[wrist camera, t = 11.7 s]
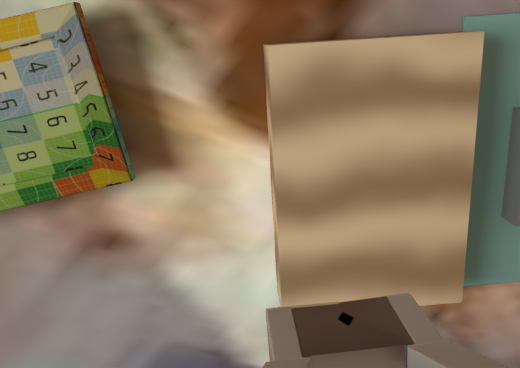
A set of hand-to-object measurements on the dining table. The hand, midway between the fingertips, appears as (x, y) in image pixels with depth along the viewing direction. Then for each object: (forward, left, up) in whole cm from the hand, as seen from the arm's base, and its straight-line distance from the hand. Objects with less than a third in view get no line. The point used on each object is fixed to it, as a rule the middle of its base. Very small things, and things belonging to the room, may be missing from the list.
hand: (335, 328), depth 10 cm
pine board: (+5, +8, -26) cm, 28 cm away
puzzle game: (-1, -20, -27) cm, 33 cm away
